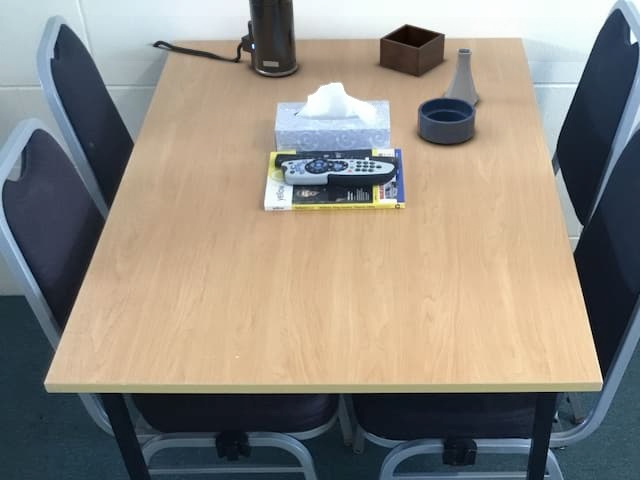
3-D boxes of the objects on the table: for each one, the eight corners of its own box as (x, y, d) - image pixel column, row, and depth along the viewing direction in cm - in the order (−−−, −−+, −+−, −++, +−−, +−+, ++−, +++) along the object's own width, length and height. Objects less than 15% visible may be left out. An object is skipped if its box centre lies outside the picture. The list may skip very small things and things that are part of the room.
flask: (478, 93, 183) (482, 44, 175) (477, 109, 178) (482, 58, 171) (444, 92, 183) (447, 42, 176) (442, 107, 179) (445, 57, 171)
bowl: (406, 135, 170) (407, 113, 167) (436, 114, 176) (438, 92, 173) (454, 151, 166) (456, 128, 163) (484, 129, 172) (486, 106, 169)
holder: (379, 65, 192) (379, 38, 188) (405, 49, 198) (406, 23, 194) (418, 76, 188) (419, 49, 184) (443, 60, 194) (445, 34, 190)
